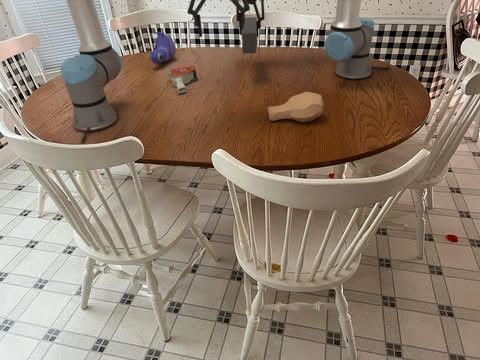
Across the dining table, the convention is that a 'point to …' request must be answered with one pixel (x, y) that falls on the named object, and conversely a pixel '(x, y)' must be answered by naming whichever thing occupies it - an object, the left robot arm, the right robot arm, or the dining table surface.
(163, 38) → the toy
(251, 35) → the bar
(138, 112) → the dining table surface
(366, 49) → the right robot arm
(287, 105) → the squash
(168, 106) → the dining table surface
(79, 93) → the left robot arm
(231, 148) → the dining table surface
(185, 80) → the tape dispenser
